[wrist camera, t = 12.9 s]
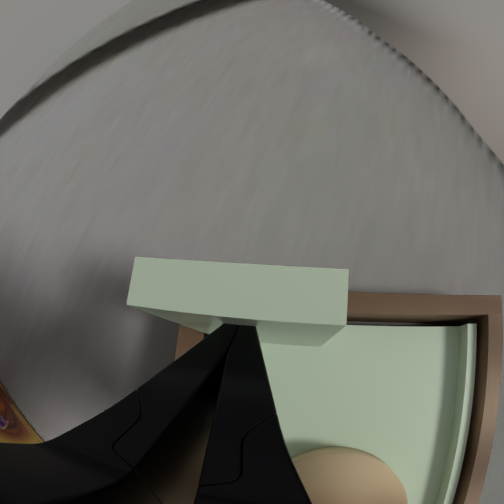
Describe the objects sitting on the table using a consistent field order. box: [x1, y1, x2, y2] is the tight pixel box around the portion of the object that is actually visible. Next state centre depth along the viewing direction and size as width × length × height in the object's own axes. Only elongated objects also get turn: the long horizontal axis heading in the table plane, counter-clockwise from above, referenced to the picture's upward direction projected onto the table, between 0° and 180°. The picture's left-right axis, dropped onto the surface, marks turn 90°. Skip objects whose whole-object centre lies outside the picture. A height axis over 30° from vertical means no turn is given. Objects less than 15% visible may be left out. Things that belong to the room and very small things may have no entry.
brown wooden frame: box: [175, 292, 503, 504], centre depth 13 cm, size 18×17×3 cm
